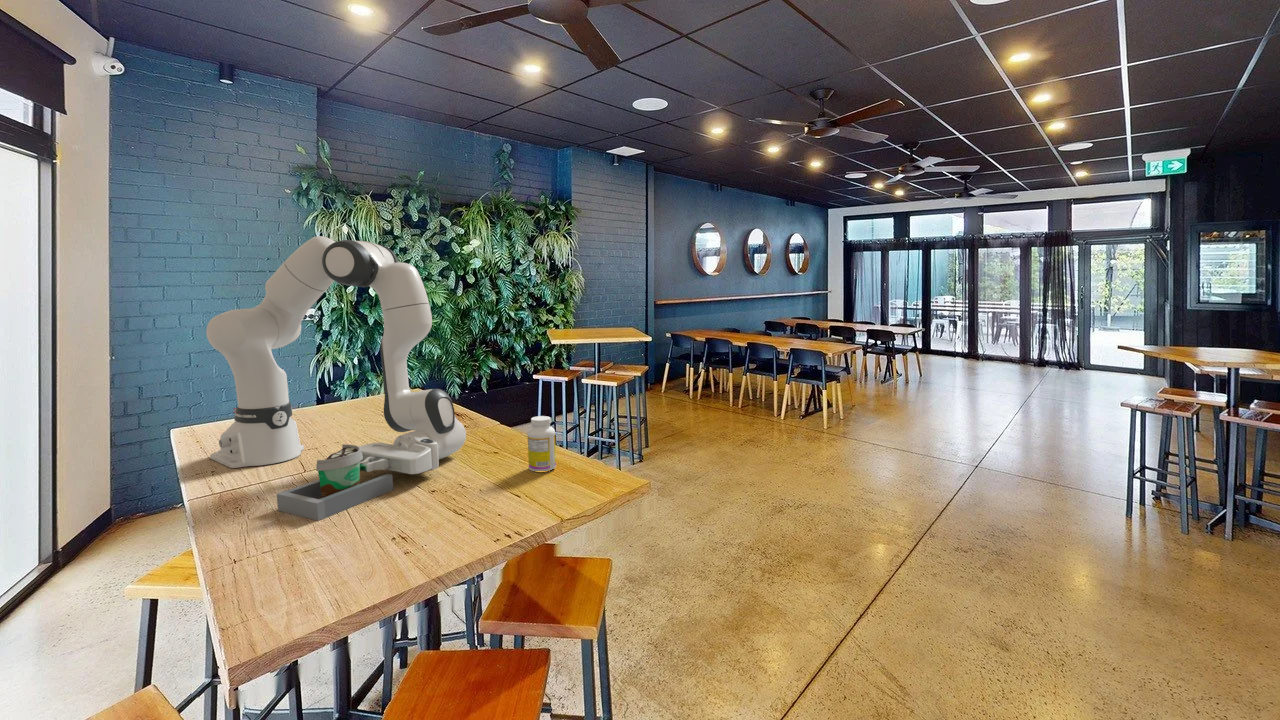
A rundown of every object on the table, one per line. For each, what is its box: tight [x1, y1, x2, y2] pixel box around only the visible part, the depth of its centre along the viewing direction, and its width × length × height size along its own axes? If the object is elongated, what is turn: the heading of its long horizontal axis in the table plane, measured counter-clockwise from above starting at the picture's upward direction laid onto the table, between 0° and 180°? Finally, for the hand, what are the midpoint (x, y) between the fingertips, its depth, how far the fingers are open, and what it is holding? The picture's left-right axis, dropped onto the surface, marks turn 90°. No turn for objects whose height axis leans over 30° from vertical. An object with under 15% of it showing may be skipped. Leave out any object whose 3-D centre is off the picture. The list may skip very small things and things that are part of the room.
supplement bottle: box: [527, 415, 557, 472], centre depth 140 cm, size 7×7×13 cm
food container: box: [315, 443, 363, 498], centre depth 123 cm, size 12×6×10 cm, turn 3°
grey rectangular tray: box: [276, 473, 394, 522], centre depth 121 cm, size 12×18×4 cm, turn 156°
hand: (362, 467), depth 127 cm, fingers closed
